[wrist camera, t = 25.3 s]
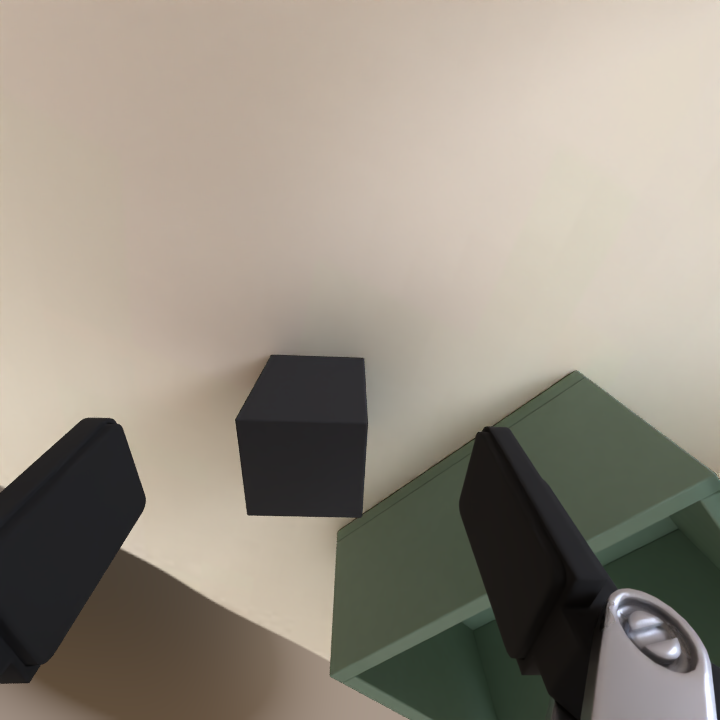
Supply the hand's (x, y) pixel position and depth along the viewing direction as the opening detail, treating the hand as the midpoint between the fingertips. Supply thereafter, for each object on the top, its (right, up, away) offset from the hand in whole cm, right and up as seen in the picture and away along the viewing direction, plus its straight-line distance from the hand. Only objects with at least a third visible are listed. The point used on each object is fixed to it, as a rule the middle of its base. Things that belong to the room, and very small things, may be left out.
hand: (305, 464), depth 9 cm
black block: (-1, +1, +8) cm, 8 cm away
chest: (+11, -7, +12) cm, 18 cm away
